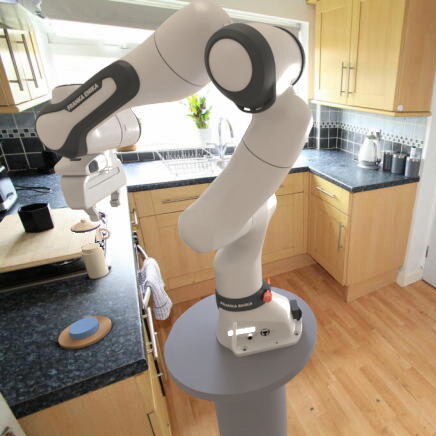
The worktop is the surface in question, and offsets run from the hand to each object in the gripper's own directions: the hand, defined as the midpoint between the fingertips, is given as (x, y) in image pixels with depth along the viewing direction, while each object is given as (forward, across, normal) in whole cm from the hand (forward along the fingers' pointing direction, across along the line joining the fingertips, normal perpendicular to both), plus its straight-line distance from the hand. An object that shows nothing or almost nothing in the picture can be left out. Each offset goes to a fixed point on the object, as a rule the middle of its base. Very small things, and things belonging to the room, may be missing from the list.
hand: (106, 213), depth 80 cm
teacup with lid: (+29, -38, -29) cm, 56 cm away
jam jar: (+29, -18, -18) cm, 39 cm away
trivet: (+29, +10, -7) cm, 32 cm away
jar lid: (+27, +10, -7) cm, 30 cm away
